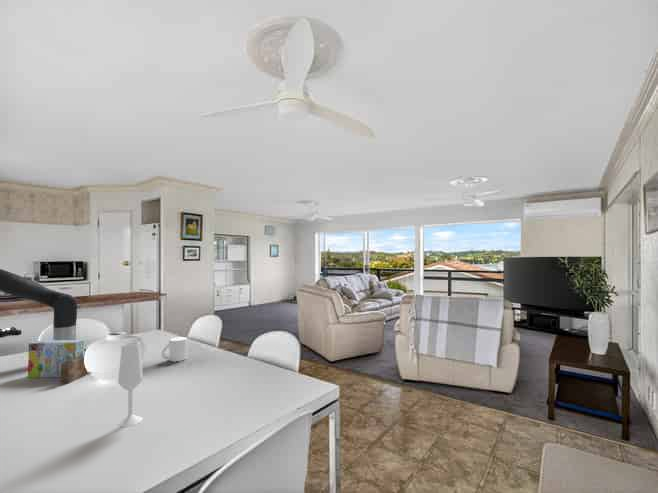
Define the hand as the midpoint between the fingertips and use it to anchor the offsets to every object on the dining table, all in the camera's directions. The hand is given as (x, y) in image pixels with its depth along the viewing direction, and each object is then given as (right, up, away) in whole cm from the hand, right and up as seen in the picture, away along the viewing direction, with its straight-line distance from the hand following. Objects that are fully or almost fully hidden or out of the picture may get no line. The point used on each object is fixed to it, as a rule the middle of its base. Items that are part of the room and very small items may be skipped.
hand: (19, 332), depth 150 cm
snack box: (+16, -19, 0) cm, 25 cm away
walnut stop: (+28, -19, -3) cm, 33 cm away
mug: (+59, -19, +21) cm, 65 cm away
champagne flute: (+74, -17, -44) cm, 88 cm away
